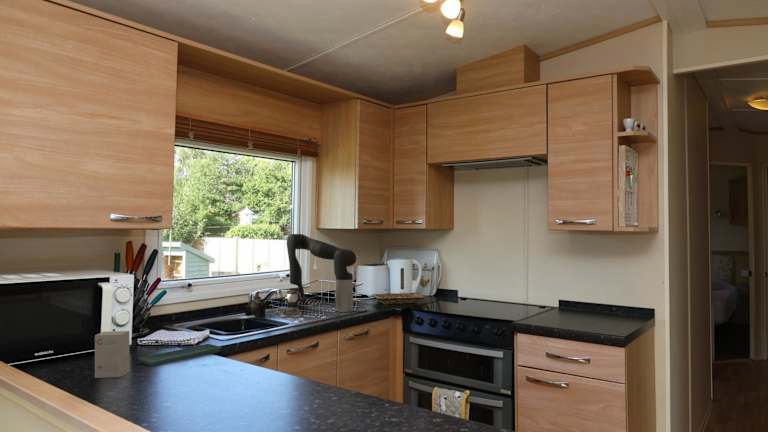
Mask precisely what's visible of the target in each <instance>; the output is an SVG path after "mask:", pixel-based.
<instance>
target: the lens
mask: <svg viewBox="0 0 768 432" xmlns="http://www.w3.org/2000/svg"><path fill="white" fill-rule="evenodd" d="M286 297H287V303H286V310H299V308H298V307H299V306H298V305H299V303H298V301H297V293H288V294H287V293H286Z"/></svg>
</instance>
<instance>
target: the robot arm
mask: <svg viewBox="0 0 768 432" xmlns="http://www.w3.org/2000/svg"><path fill="white" fill-rule="evenodd" d="M286 248H287V249H286V250H287V255H288V263H289V283H290V285H294V286H297V287H298V288H297V287H296V288H295V287H294V288H292V287H291V288H288V289H287V291H286V295H287V294H288V293H297V301H298V304H303V303H305V304H306V302H307V298H306V295H305V290H304V287H303V279H302V278H303V276H302V275H303V272H302V267H301V264H300V262H299V260H298V257H297V250H305V251H309V252H310V254H311V255H313V256H314V257H317V258H320V259H324V260H329V261H330V260H333V270H334V271H333V272H334V275H335V312H337V311H338V312H339V313H349V312H354V292H353V291H354V288H353V287H354V286H353V285H354V284H353V283H354V282H353V281H354V277H353V273H350V272H349V271H348V269H347V267H352V266H353V265H355V264H356V262H357V256H356V253H355V252H354V251H352V250H351V249H347V248H346V249H345V248H342V247H341V248H340V247H337V246H335V245H333V244H330V243H327V242H324V241H321V240H318V239H314V238H311V237H309V236H307V235H305V234H302V233H292V234H291V233H290V234H288V236H287V238H286ZM288 290H290V291H288ZM279 304H283V305H285V304H287V296H285V297H282V296H281V297H279Z"/></svg>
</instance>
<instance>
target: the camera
mask: <svg viewBox="0 0 768 432" xmlns="http://www.w3.org/2000/svg"><path fill="white" fill-rule="evenodd" d="M266 307H267V302H266V301H265V300H264V299H263V298H261V296H259V295H256V296H253V299H252V300H251V304H246V305H244V315H245V316H247V317H251V316H254V317H255V318H257V320H266Z"/></svg>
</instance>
